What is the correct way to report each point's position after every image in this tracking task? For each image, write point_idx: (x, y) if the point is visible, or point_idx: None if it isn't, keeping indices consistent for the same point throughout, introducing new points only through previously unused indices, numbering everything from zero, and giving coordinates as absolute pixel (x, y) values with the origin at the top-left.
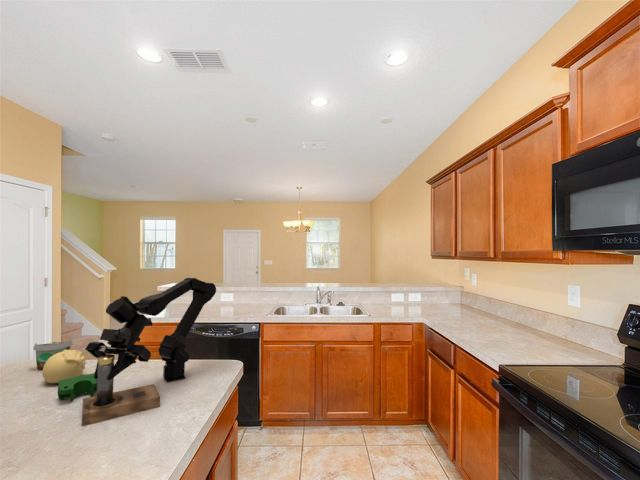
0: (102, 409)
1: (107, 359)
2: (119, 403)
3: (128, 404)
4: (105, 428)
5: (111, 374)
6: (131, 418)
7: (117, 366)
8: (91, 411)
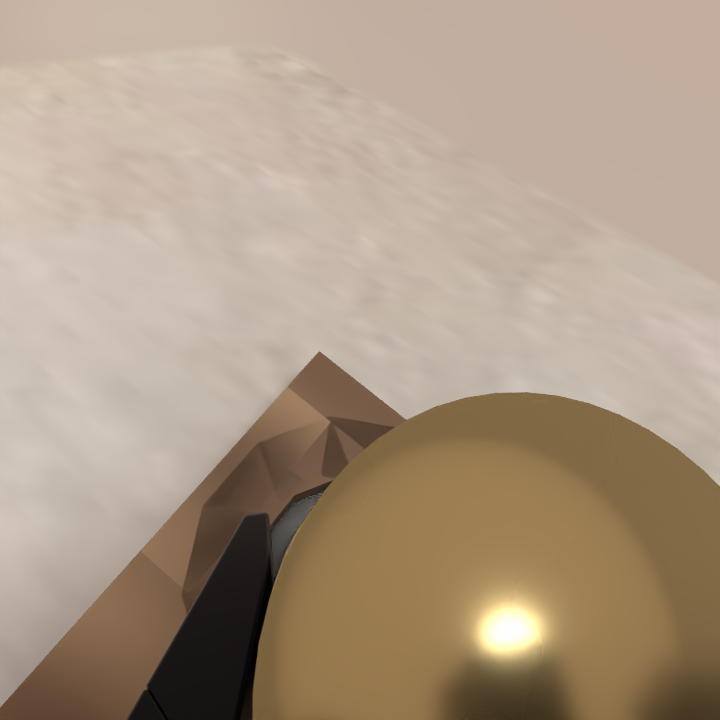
0: (238, 455)
1: (312, 509)
2: (177, 597)
3: (80, 622)
4: (133, 395)
5: (217, 562)
6: (35, 565)
7: (130, 718)
8: (297, 404)
